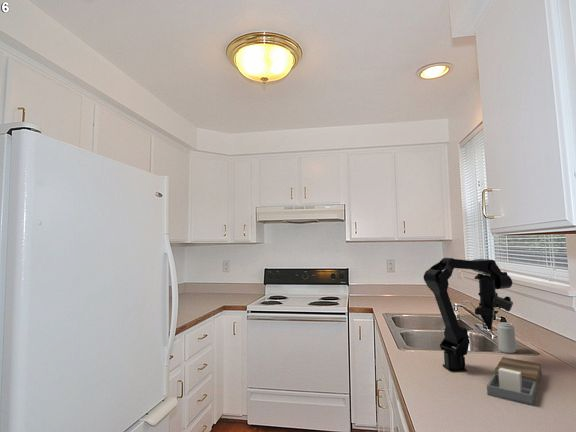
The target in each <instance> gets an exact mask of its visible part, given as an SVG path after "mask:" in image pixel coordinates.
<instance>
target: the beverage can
mask: <svg viewBox="0 0 576 432" xmlns="http://www.w3.org/2000/svg"><path fill="white" fill-rule="evenodd" d="M496 328H497V329H496V330H497V342H498V343H497V344H498V345H497V346H498V350H499V351H500V352H501V353H504V354H515V352H516V351H517V346H516V332H515V331H516V330H515V326H514V324H513V323H510V322H505V321H502V322H501V321H499V322H498V323H497V325H496Z"/></svg>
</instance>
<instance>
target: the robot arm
mask: <svg viewBox="0 0 576 432" xmlns="http://www.w3.org/2000/svg"><path fill="white" fill-rule="evenodd" d="M455 269H463V270H472V271H473V272H476V273H477V274H476V275H475V276H474V280H478V289H479V290H478V291H479V292H478V296H479V302H478V306H477V307H476V308H475V309H474V314H475V316H476V315H478V316H480V317H481V318H482V321H483V322H484V324H485V326H486V328H487V330H492V329H493V323H494V319H495V316H496V315H497V314H498V313H499V310H500V309H503V310H504V311H506V312H511V310H512V307H513V305H514V302H513V301H512V298H511V297H510V296H508V295H506V296H505V297H504V298H503V297H501V296H499V295H498V292H496V290H503V289H504V290H505V289H510V288H512V285H513V280H512V278H511V277H510V276H509V275H508V271H502V270H501V269H500V267H499V266H498V264H497V262H496V260H494V259H488V258H487V259H486V258H485V259H484V258H479V259H477V258H476V259H472V260H471V259H470V260H469V259H458V258H453V257H444V258H441V260H439V262H437V263H435V264H433V265H432V266H430V267H429V268H428V269H427V270H426V271H425V272H424V275H423V280H424V283H425V284H426V287H427V288H429V290H430V291H431V292H432V293H433V294H434V299H435V300H436V304H437V307H438V309H439V313H440V315H441V318H442V321H443V323H444V327H445V328H444V331H443V335H444V338H443V339H442V341H441V342H440V344H439V348H440V350H441V351H443V359H444V360H443V362H444V363H443V364H442V367H444V368H445V369H446V370H447V371H449V372H452V373H454V372H456V373H457V372H467V371H468V369H467V368H466V357H465V356H467V355H468V351H469V346H470V344H471V343H470V339H471V338H470V336H469V333H468V330H467V328H466V327H464V326H460V324H459V322H458V321H459V320H458V319H457V315H456V313H455V312H456V311H455V309H454V307H453V305H452V301H451V299H450V295H449V293H448V288H449V279H450V278H451V277H452V275H453V271H454V270H455ZM496 308H498V309H499V310H495V309H496Z"/></svg>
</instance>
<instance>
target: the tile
mask: <svg viewBox="0 0 576 432" xmlns="http://www.w3.org/2000/svg"><path fill="white" fill-rule="evenodd" d="M498 373H499V388H504V389H508V390H513V391H517V392H522V377H521V372H518V371H514V370H509V369H505V368H500V369H499V370H498Z"/></svg>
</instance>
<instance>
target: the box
mask: <svg viewBox="0 0 576 432" xmlns="http://www.w3.org/2000/svg"><path fill="white" fill-rule="evenodd" d="M486 394H487V396H491V397H494V398H499V399H503V400H507V401H511V402H516V403H519V404H523V405H529V406H533V404H534V402H535V397H536V395H537V391H536V382H534V381H529V380H524V379H522V392H517V391H513V390H508V389H504V388H499V374H495V373H493V375H492V376H491V377H490V380H488V383H487V385H486Z"/></svg>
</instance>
